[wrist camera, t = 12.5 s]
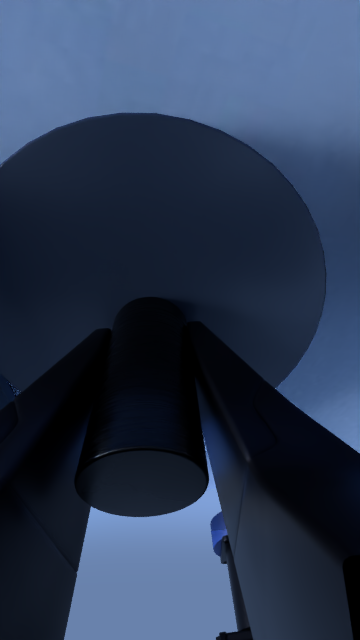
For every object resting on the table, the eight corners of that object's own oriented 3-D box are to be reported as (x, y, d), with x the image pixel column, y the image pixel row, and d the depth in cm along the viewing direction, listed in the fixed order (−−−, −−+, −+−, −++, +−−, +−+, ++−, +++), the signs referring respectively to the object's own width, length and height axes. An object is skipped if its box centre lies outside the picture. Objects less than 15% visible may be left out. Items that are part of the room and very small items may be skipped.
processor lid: (284, 403, 13) (360, 567, 8) (43, 423, 13) (-30, 605, 8) (351, 101, 7) (845, 11, 2) (-107, 130, 7) (-876, 115, 2)
